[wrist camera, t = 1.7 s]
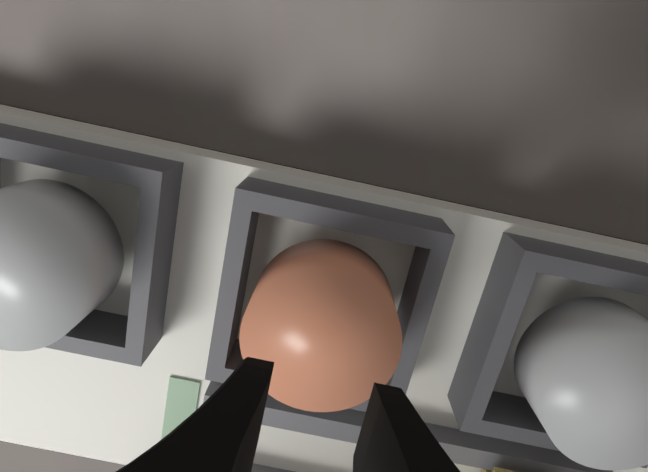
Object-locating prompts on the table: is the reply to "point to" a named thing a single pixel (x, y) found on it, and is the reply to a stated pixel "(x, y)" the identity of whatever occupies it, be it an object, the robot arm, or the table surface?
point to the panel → (239, 284)
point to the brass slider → (497, 470)
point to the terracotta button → (323, 326)
